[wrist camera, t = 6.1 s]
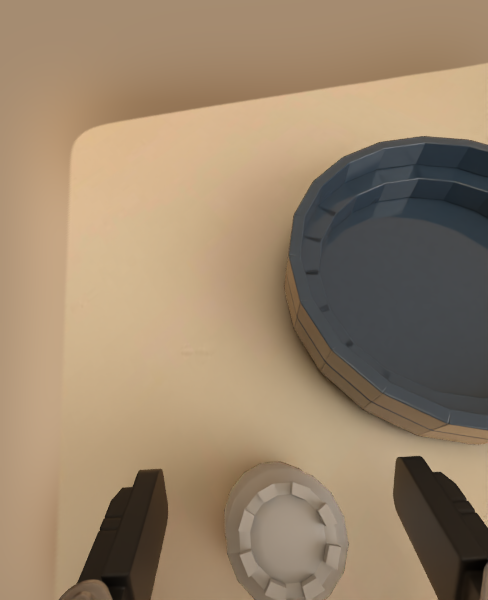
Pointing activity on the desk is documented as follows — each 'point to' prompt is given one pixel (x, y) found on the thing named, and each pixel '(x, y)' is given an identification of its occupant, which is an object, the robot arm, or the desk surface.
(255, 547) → the rook chess piece
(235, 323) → the desk surface
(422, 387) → the dish
